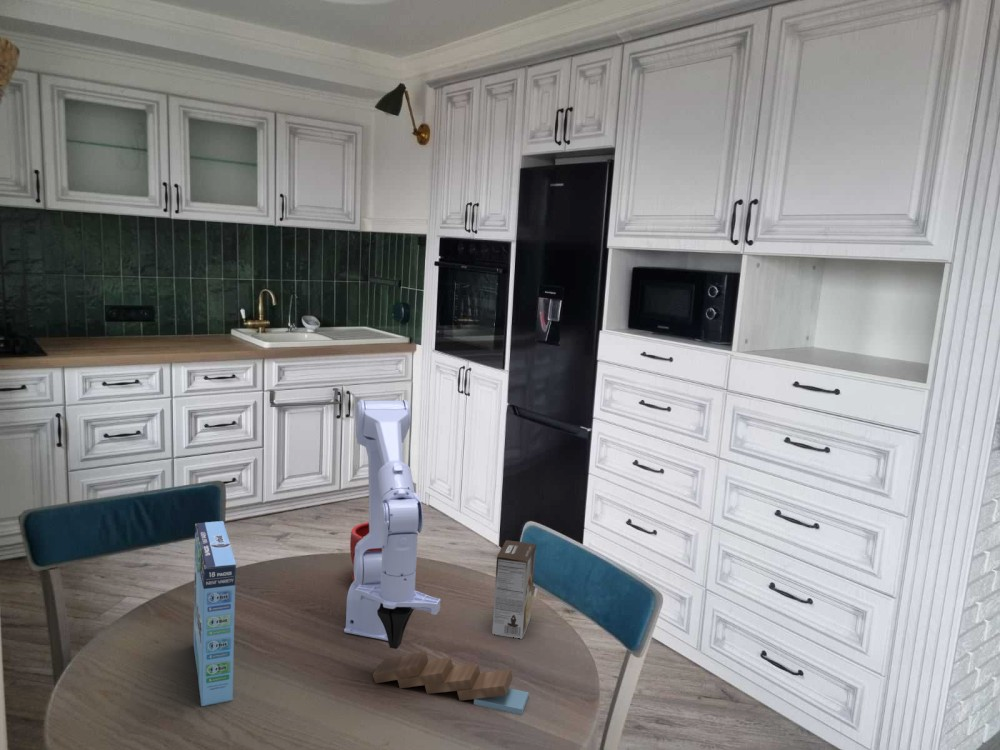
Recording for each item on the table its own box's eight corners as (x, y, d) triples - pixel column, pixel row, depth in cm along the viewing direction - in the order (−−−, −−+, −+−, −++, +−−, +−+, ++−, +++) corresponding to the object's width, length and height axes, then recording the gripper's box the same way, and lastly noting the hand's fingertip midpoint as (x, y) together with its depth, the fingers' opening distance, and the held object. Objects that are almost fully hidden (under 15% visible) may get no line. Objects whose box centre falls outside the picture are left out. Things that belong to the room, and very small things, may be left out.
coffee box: (500, 613, 147) (505, 538, 145) (531, 618, 146) (536, 543, 144) (491, 635, 138) (496, 555, 136) (523, 640, 137) (529, 560, 135)
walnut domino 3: (424, 684, 118) (469, 679, 116) (434, 668, 123) (478, 663, 121) (426, 693, 118) (472, 688, 116) (436, 677, 123) (480, 672, 121)
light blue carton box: (193, 645, 128) (193, 522, 125) (223, 640, 130) (224, 519, 127) (200, 708, 111) (200, 567, 107) (235, 701, 113) (237, 563, 110)
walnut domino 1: (372, 674, 120) (415, 666, 118) (384, 659, 125) (425, 651, 123) (375, 683, 120) (418, 675, 118) (386, 667, 125) (428, 660, 123)
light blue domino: (474, 699, 116) (522, 709, 114) (482, 682, 121) (528, 692, 119) (473, 708, 116) (521, 718, 114) (481, 691, 121) (528, 701, 119)
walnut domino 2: (397, 679, 119) (441, 672, 117) (407, 663, 124) (450, 657, 122) (399, 688, 119) (444, 682, 117) (410, 672, 124) (453, 666, 122)
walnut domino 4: (457, 691, 117) (503, 685, 114) (465, 674, 121) (510, 669, 119) (459, 700, 117) (506, 695, 115) (468, 683, 121) (512, 678, 119)
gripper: (347, 571, 117) (345, 649, 119) (432, 586, 114) (427, 665, 116) (365, 555, 124) (363, 629, 126) (446, 568, 120) (441, 644, 122)
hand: (395, 645), depth 121 cm, fingers closed
